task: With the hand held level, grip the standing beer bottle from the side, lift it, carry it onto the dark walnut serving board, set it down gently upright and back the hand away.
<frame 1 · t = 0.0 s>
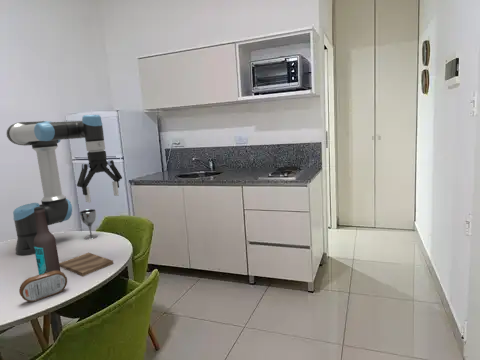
hand: (102, 198, 151), 28 cm above the table, tool pointing down, fingers open, 13 cm apart
serving board: (86, 265, 150), on the table
beer bottle: (51, 279, 138), on the table
tin: (46, 297, 123), on the table
wine glass: (91, 237, 189), on the table
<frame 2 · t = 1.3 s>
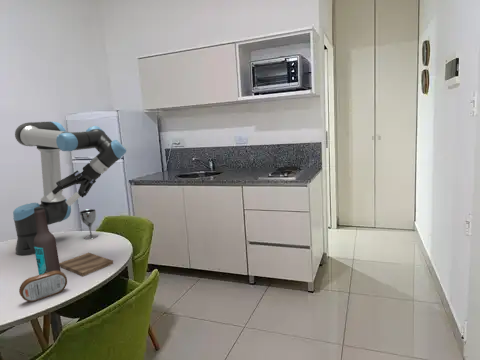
hand: (58, 201, 149), 29 cm above the table, tool tilted 55°, fingers open, 13 cm apart
nothing on the table moved.
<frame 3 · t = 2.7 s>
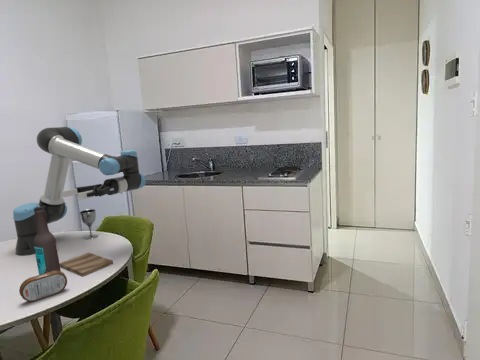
hand: (70, 195, 142), 32 cm above the table, tool horizontal, fingers open, 13 cm apart
nothing on the table moved.
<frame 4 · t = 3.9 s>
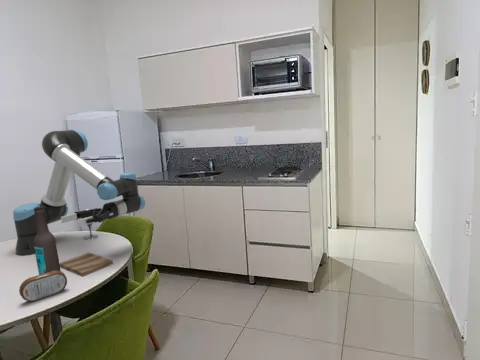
hand: (69, 221, 142), 21 cm above the table, tool horizontal, fingers open, 13 cm apart
nothing on the table moved.
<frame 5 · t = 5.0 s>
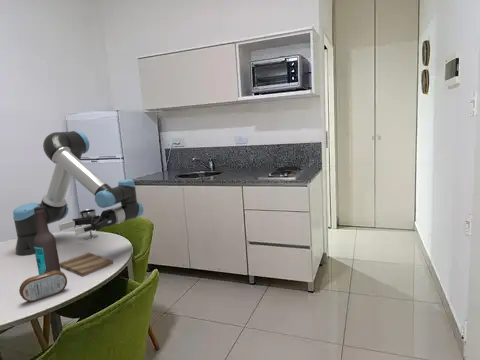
hand: (67, 229, 142), 18 cm above the table, tool horizontal, fingers open, 13 cm apart
nothing on the table moved.
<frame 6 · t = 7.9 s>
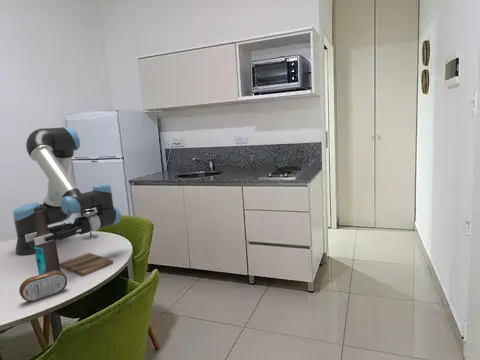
hand: (30, 240, 131), 18 cm above the table, tool horizontal, fingers closed on beer bottle, 7 cm apart
beer bottle: (51, 279, 138), on the table, touching gripper
everything else where it was.
when the fingers open (21 cm above the table, at t = 12.1 s): beer bottle drops 1 cm, resting on serving board.
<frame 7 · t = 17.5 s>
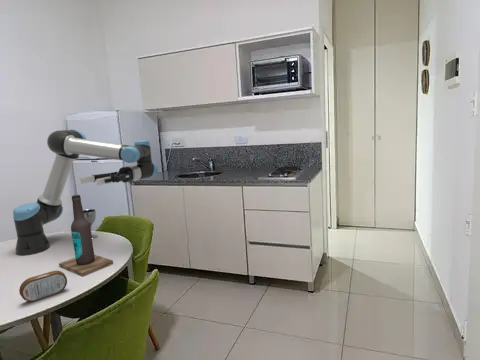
hand: (88, 181, 151), 36 cm above the table, tool horizontal, fingers open, 13 cm apart
beer bottle: (85, 262, 149), point 1 cm above the table, touching serving board
everything else where it was.
at the end: beer bottle inside the target area on the serving board (0.1 cm from its centre), point 1.3 cm above the serving board's base; beer bottle tilted 0°; the gripper is holding nothing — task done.
